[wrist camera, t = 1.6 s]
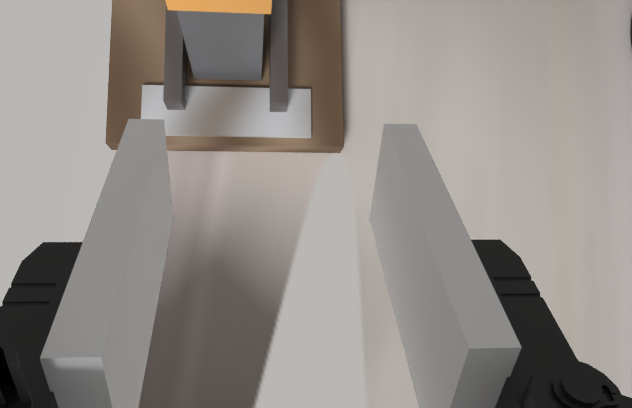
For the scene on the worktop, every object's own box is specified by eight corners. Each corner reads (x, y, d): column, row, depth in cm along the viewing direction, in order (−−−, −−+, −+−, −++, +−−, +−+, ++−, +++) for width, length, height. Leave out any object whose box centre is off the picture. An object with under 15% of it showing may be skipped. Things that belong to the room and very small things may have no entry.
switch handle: (266, 14, 36) (272, -107, 26) (266, 85, 36) (272, -9, 25) (190, 11, 36) (164, -114, 25) (188, 83, 35) (161, -14, 24)
